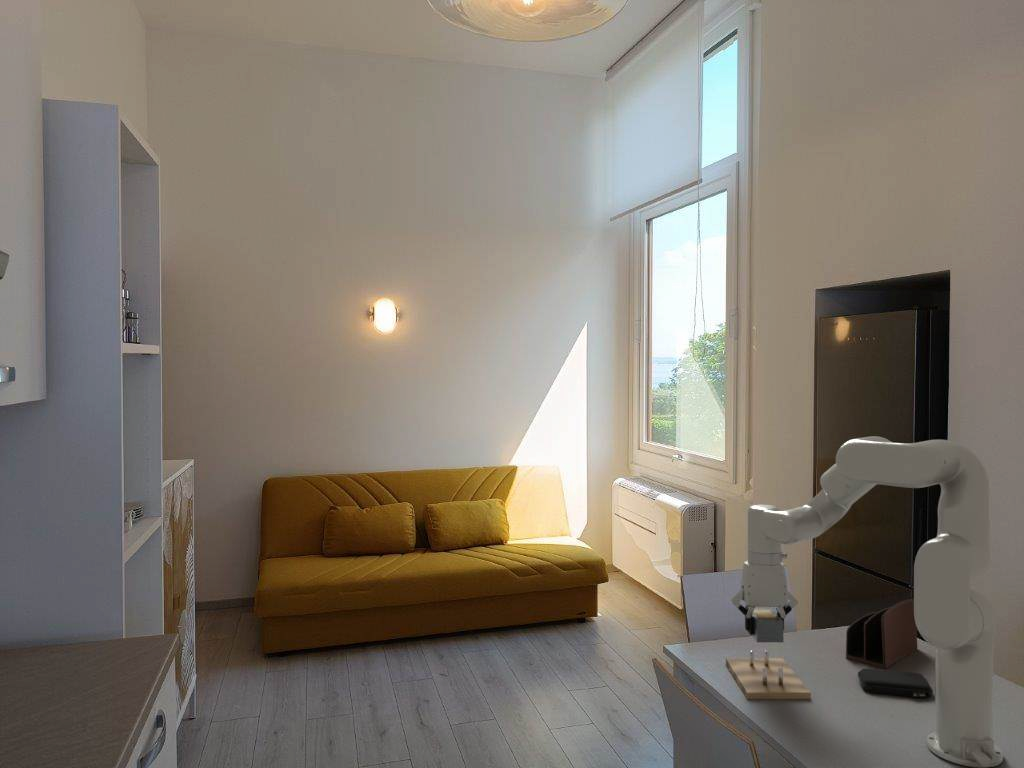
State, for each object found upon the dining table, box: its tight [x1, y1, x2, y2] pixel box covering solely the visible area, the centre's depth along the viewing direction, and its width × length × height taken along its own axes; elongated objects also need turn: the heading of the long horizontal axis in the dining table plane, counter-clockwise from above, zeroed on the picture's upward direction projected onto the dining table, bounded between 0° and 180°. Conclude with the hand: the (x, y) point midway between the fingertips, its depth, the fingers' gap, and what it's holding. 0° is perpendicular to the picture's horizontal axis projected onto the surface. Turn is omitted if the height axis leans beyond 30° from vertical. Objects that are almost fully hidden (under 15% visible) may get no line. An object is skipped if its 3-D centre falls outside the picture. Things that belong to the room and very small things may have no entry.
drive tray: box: [725, 650, 812, 700], centre depth 179 cm, size 20×14×5 cm
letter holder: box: [845, 598, 918, 670], centre depth 194 cm, size 10×20×14 cm, turn 131°
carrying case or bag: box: [857, 667, 934, 699], centre depth 173 cm, size 11×3×15 cm
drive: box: [751, 607, 784, 643], centre depth 179 cm, size 9×6×5 cm, turn 178°
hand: (764, 632), depth 179 cm, fingers closed on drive, 6 cm apart
